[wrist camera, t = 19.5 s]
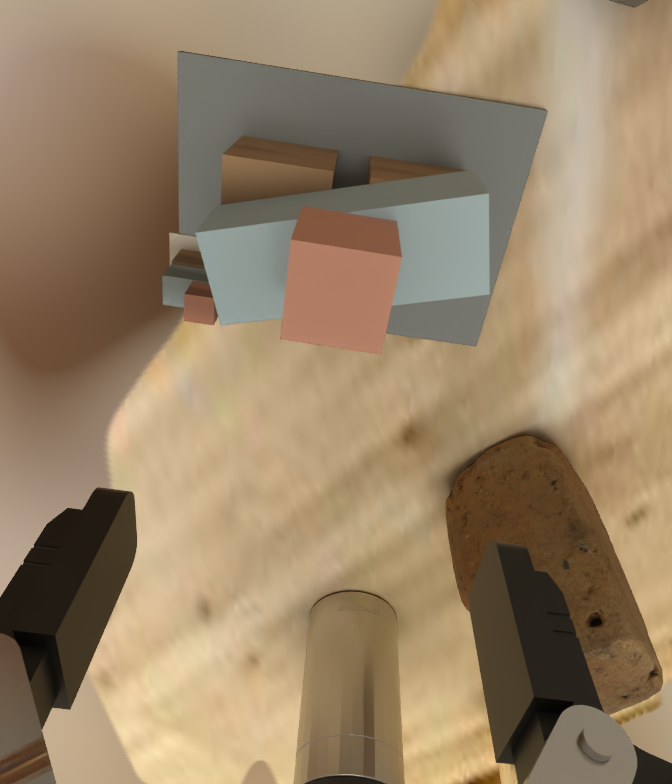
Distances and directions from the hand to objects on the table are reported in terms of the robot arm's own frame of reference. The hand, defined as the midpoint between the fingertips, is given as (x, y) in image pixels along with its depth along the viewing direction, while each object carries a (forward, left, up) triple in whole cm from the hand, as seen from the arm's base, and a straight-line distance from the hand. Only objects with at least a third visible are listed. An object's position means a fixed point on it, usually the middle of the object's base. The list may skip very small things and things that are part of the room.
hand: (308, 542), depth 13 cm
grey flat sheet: (-1, 0, -30) cm, 30 cm away
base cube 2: (0, +4, -30) cm, 30 cm away
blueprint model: (-6, +8, -30) cm, 31 cm away
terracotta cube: (0, 0, -18) cm, 19 cm away
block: (-21, -17, -30) cm, 41 cm away
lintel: (0, 0, -23) cm, 23 cm away
